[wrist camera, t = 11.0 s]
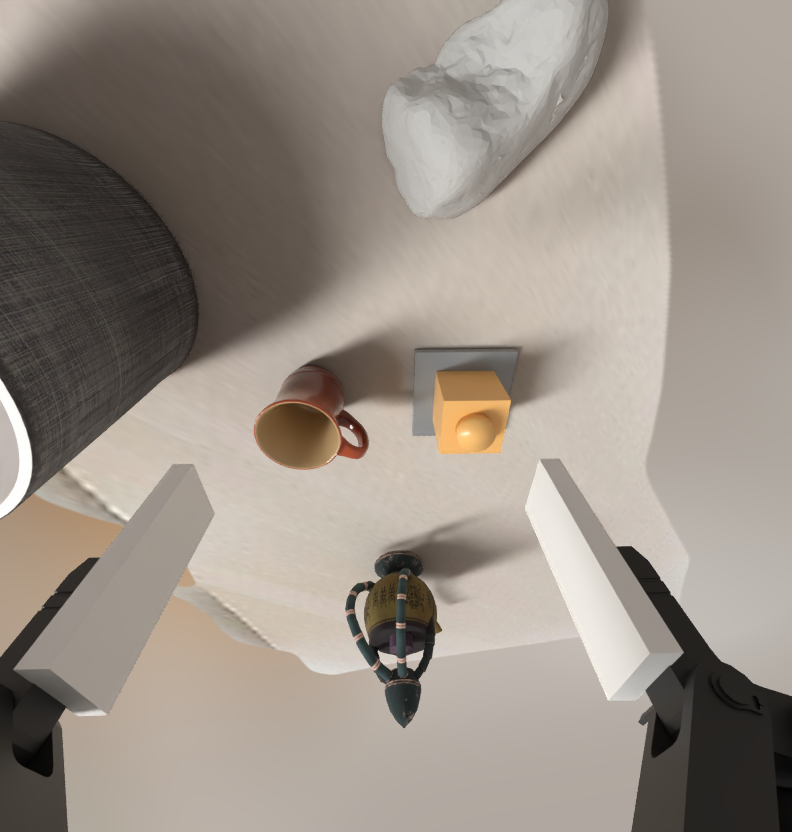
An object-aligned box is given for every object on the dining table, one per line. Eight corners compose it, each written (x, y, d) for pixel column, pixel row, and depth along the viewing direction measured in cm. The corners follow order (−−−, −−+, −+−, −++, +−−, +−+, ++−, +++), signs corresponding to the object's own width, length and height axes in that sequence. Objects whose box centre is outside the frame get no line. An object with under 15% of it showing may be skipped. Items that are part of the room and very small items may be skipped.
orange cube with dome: (435, 371, 42) (446, 409, 34) (493, 370, 42) (516, 408, 34) (432, 419, 45) (441, 463, 38) (485, 419, 45) (504, 462, 38)
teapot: (405, 527, 59) (415, 695, 39) (461, 597, 71) (489, 752, 51) (345, 550, 61) (326, 716, 42) (408, 613, 74) (416, 764, 54)
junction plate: (415, 349, 41) (419, 371, 36) (515, 348, 41) (533, 370, 36) (412, 431, 48) (415, 460, 43) (498, 430, 48) (512, 458, 43)
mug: (270, 401, 44) (243, 451, 36) (294, 344, 40) (269, 386, 32) (355, 436, 48) (348, 490, 39) (385, 387, 44) (384, 435, 35)
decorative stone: (440, 255, 33) (417, 196, 23) (382, 178, 34) (338, 92, 25) (611, 111, 29) (668, -34, 19) (538, 29, 30) (558, -147, 20)
